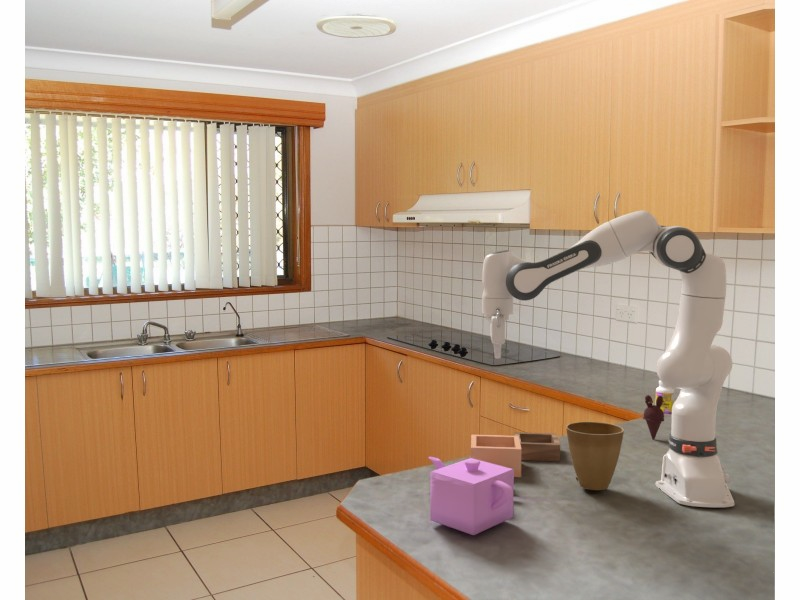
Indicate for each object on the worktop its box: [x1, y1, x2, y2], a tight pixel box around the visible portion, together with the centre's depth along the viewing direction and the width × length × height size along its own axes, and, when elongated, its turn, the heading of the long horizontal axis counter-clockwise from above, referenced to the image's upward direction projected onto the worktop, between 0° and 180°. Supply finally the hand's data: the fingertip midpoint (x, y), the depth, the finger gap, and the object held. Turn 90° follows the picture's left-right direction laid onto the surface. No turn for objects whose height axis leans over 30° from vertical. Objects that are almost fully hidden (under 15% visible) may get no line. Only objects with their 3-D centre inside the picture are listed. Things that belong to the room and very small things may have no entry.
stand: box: [470, 434, 522, 478], centre depth 206 cm, size 14×14×8 cm
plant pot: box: [565, 421, 625, 491], centre depth 191 cm, size 15×15×16 cm
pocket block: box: [513, 431, 561, 462], centre depth 221 cm, size 13×13×5 cm
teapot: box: [428, 456, 515, 537], centre depth 169 cm, size 15×25×14 cm, turn 46°
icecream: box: [642, 394, 665, 441], centre depth 237 cm, size 7×7×15 cm
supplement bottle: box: [654, 379, 675, 414], centre depth 273 cm, size 7×7×13 cm
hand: (497, 355), depth 204 cm, fingers open, 8 cm apart
